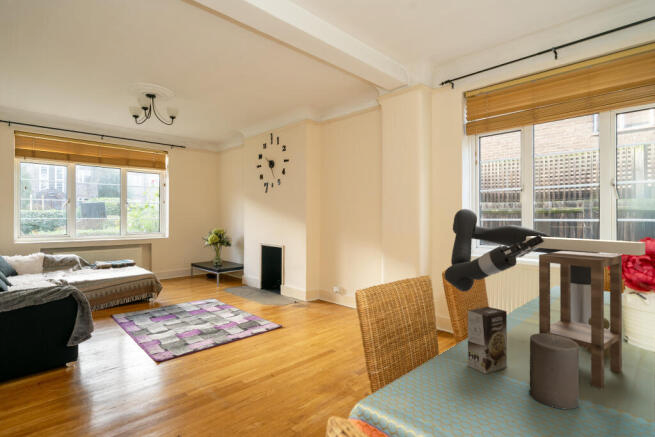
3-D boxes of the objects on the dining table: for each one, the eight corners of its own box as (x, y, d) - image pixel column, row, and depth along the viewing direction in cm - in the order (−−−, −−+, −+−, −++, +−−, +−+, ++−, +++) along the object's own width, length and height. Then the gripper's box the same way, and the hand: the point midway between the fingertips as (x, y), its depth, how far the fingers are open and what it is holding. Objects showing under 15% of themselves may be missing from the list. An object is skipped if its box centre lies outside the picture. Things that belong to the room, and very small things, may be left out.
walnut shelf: (563, 353, 103) (562, 250, 102) (621, 371, 91) (621, 255, 91) (539, 367, 94) (539, 254, 93) (601, 388, 82) (600, 260, 82)
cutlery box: (533, 245, 104) (533, 236, 104) (645, 254, 83) (645, 242, 83) (526, 246, 102) (526, 237, 101) (639, 255, 80) (640, 243, 80)
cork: (616, 357, 100) (616, 321, 100) (593, 355, 101) (593, 319, 101) (603, 349, 106) (603, 314, 106) (582, 347, 107) (582, 314, 107)
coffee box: (486, 374, 90) (486, 315, 90) (466, 365, 96) (466, 309, 95) (508, 367, 94) (507, 310, 94) (487, 358, 100) (487, 305, 100)
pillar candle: (520, 392, 81) (520, 331, 81) (546, 383, 85) (546, 325, 84) (561, 414, 72) (562, 346, 72) (588, 403, 76) (589, 339, 76)
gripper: (479, 252, 109) (527, 227, 97) (502, 249, 117) (549, 226, 105) (490, 273, 106) (541, 251, 94) (513, 268, 114) (562, 247, 102)
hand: (545, 238), depth 99 cm, fingers closed on cutlery box, 4 cm apart
